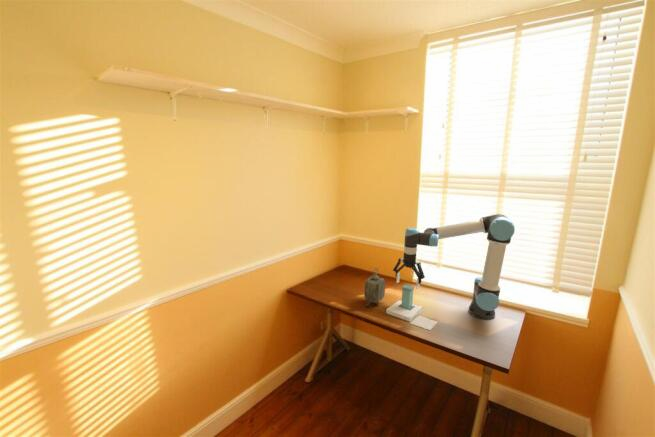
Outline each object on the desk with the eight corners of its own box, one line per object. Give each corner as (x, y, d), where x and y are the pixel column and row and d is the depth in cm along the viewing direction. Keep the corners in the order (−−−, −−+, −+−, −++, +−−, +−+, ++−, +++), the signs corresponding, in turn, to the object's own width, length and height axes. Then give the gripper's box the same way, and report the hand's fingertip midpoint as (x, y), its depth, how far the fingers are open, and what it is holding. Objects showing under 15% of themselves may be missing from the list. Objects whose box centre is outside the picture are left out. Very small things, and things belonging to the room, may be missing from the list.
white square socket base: (422, 310, 201) (422, 306, 201) (410, 321, 188) (410, 316, 187) (399, 303, 211) (399, 299, 211) (386, 313, 198) (386, 308, 197)
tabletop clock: (372, 298, 218) (373, 264, 213) (384, 301, 214) (386, 266, 209) (363, 306, 206) (365, 270, 201) (376, 310, 201) (378, 273, 197)
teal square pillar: (412, 310, 202) (414, 286, 199) (408, 313, 198) (410, 289, 195) (404, 307, 206) (405, 284, 203) (400, 310, 201) (401, 287, 198)
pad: (437, 322, 187) (437, 321, 187) (429, 330, 178) (429, 330, 178) (418, 316, 195) (418, 315, 195) (410, 323, 186) (410, 323, 186)
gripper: (432, 255, 190) (429, 288, 194) (394, 247, 205) (392, 278, 209) (427, 258, 184) (424, 292, 188) (389, 250, 200) (387, 281, 204)
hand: (407, 285), depth 199 cm, fingers open, 13 cm apart
